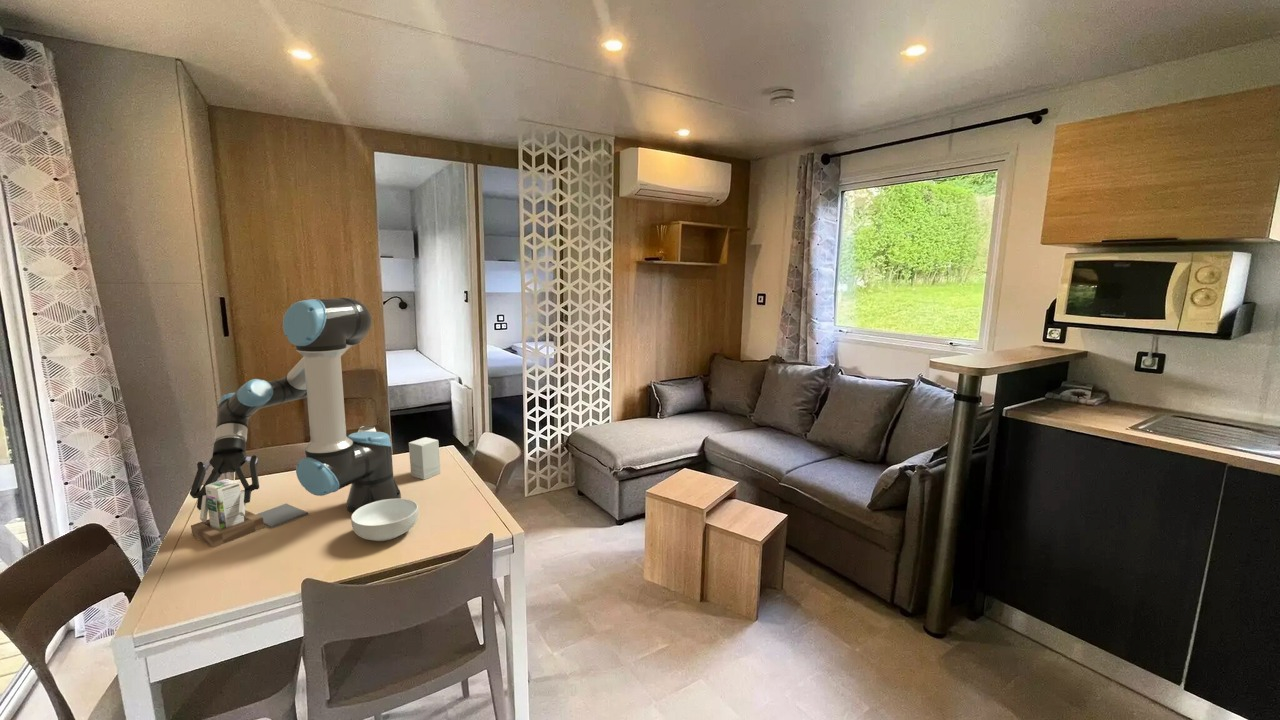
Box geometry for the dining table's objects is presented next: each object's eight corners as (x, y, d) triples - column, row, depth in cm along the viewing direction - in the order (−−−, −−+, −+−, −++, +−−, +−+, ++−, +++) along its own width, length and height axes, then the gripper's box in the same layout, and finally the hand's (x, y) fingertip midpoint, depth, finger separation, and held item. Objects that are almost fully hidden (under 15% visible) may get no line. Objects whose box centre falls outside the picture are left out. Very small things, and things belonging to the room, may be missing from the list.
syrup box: (210, 535, 142) (203, 485, 139) (234, 525, 147) (227, 477, 145) (223, 539, 140) (216, 489, 137) (246, 529, 145) (240, 480, 143)
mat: (308, 514, 154) (308, 512, 154) (271, 528, 146) (271, 526, 146) (286, 505, 160) (286, 503, 160) (249, 518, 151) (249, 516, 151)
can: (372, 460, 199) (370, 430, 197) (356, 459, 199) (353, 430, 197) (381, 454, 205) (379, 425, 203) (365, 453, 205) (362, 425, 203)
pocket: (264, 528, 146) (262, 517, 145) (213, 547, 135) (212, 536, 135) (242, 518, 151) (241, 508, 151) (192, 536, 141) (190, 525, 141)
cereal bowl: (415, 545, 138) (413, 520, 136) (346, 554, 133) (343, 529, 132) (422, 516, 154) (421, 494, 152) (361, 523, 149) (358, 501, 148)
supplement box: (441, 473, 186) (439, 440, 184) (423, 480, 180) (421, 445, 178) (428, 469, 190) (426, 436, 188) (410, 475, 184) (407, 442, 182)
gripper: (275, 443, 158) (271, 514, 147) (190, 453, 149) (178, 529, 138) (270, 431, 153) (265, 504, 141) (181, 441, 144) (168, 520, 132)
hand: (222, 517), depth 139 cm, fingers closed on syrup box, 8 cm apart
